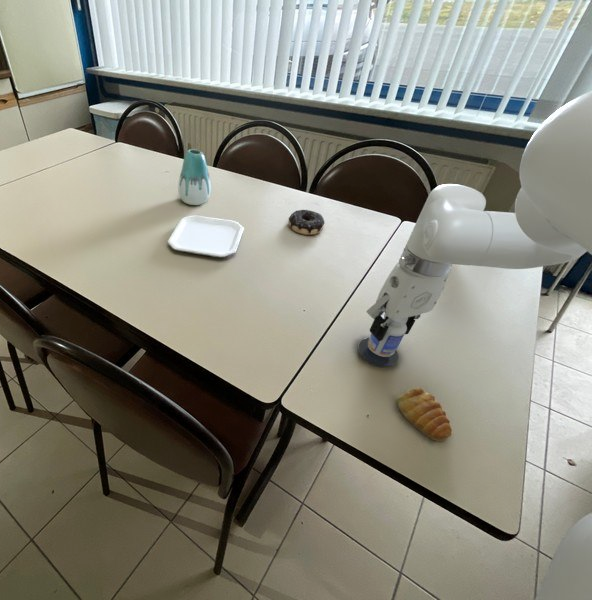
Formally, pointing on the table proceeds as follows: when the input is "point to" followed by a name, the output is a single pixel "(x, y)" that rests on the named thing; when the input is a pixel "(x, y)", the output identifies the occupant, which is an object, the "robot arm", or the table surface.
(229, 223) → the plate
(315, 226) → the donut
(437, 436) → the pastry
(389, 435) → the table surface
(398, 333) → the pill bottle
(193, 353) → the table surface
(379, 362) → the coaster
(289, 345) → the table surface
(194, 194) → the vase
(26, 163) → the table surface
